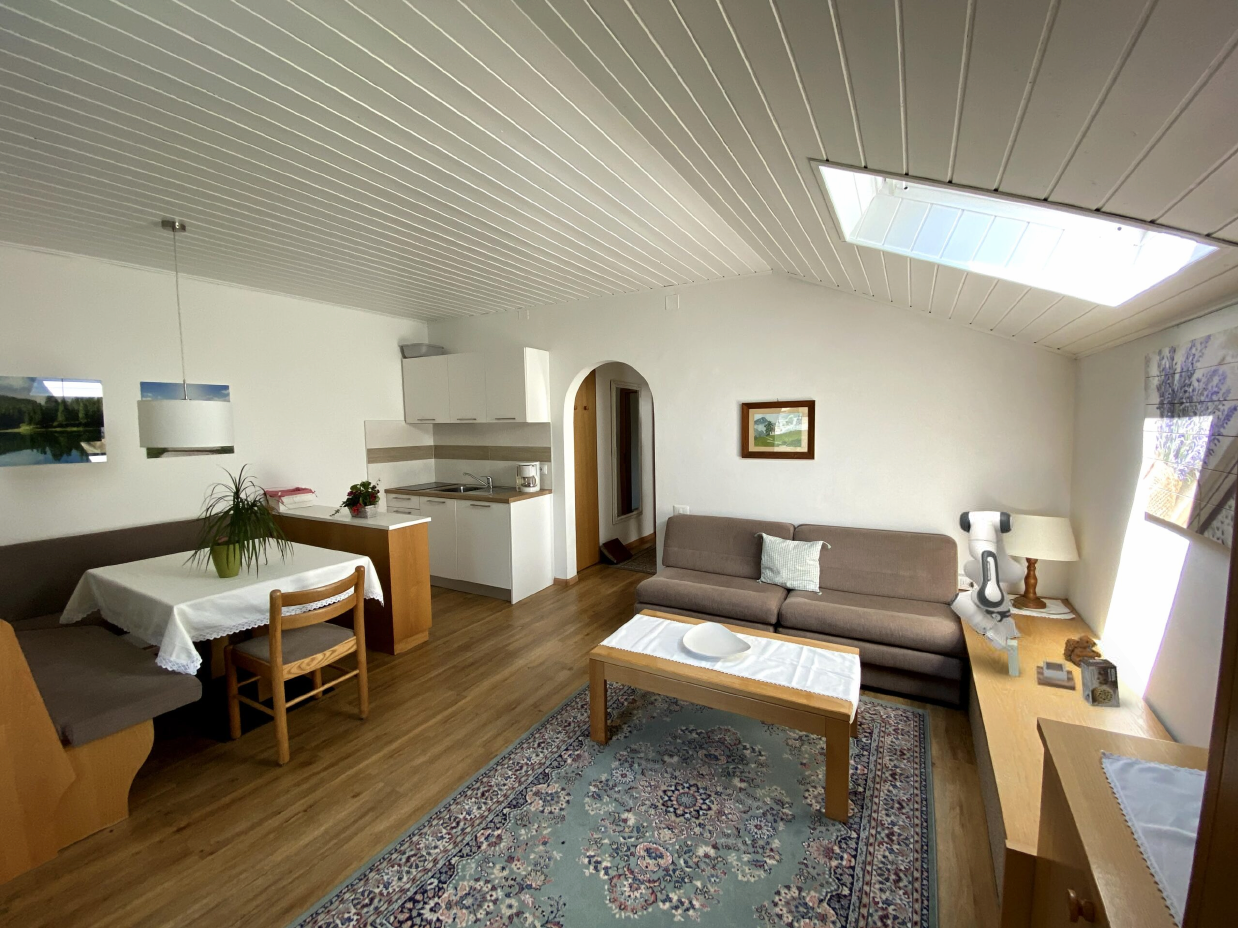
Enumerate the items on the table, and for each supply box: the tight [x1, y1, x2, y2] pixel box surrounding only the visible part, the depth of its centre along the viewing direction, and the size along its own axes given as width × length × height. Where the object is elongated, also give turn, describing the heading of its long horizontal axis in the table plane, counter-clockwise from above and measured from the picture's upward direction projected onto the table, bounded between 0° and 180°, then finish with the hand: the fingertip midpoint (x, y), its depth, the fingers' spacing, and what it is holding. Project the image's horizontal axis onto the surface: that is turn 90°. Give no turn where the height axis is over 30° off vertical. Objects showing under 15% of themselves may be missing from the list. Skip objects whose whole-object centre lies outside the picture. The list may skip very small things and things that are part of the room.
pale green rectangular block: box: [1006, 639, 1020, 677], centre depth 231 cm, size 6×4×14 cm, turn 143°
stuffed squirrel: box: [1062, 634, 1102, 669], centre depth 234 cm, size 10×14×13 cm
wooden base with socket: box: [1036, 660, 1076, 691], centre depth 223 cm, size 16×12×6 cm
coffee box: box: [1080, 658, 1121, 707], centre depth 203 cm, size 9×6×16 cm
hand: (1012, 649), depth 231 cm, fingers open, 8 cm apart
